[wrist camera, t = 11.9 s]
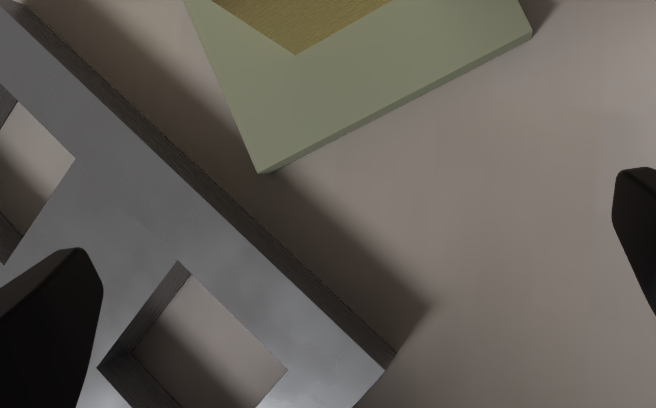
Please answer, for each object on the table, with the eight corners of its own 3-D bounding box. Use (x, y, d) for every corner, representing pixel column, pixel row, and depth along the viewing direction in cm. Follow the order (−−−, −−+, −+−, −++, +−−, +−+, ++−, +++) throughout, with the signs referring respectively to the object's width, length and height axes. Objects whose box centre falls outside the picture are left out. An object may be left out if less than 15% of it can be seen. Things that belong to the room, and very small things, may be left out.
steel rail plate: (396, 353, 19) (385, 370, 17) (229, 537, 21) (203, 570, 20) (23, 4, 24) (-19, -12, 22) (-85, 185, 26) (-132, 184, 24)
